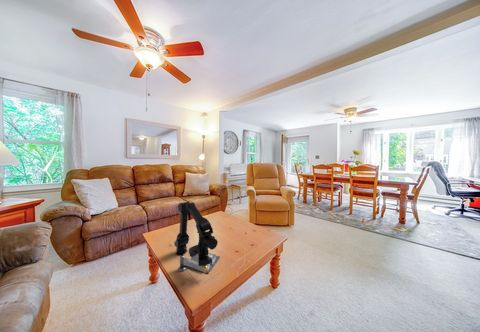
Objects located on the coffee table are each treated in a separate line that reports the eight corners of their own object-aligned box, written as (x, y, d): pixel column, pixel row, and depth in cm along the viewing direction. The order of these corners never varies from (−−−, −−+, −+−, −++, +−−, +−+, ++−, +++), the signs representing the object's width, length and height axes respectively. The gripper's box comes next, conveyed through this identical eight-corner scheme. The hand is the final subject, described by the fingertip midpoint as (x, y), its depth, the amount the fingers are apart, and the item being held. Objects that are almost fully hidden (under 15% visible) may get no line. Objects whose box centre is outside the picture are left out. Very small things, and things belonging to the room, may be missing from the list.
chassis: (184, 266, 101) (184, 262, 101) (198, 252, 116) (198, 248, 116) (208, 273, 95) (208, 268, 95) (220, 257, 110) (220, 253, 110)
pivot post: (176, 270, 98) (176, 257, 97) (181, 265, 102) (181, 253, 102) (182, 272, 96) (182, 259, 95) (187, 267, 101) (187, 254, 100)
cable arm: (183, 264, 97) (182, 259, 97) (185, 262, 99) (185, 257, 99) (205, 273, 90) (205, 268, 89) (208, 270, 92) (208, 265, 92)
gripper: (190, 235, 101) (190, 257, 102) (189, 253, 83) (189, 280, 85) (207, 233, 104) (207, 255, 106) (210, 250, 86) (209, 276, 88)
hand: (203, 265), depth 96 cm, fingers closed
